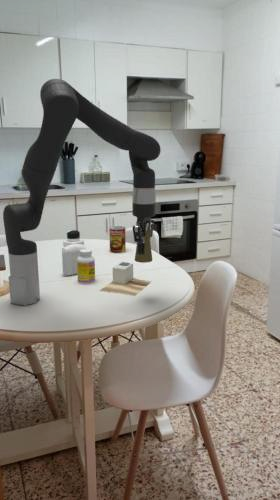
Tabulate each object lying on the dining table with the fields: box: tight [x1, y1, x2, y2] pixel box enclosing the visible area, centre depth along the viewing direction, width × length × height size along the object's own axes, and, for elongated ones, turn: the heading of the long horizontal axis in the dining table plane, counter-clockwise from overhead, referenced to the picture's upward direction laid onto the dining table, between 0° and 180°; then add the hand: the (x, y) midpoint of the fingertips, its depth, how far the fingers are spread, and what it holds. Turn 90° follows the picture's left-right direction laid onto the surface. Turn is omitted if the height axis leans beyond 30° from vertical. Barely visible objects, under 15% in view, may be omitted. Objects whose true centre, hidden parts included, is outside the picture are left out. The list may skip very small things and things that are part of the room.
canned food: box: [109, 225, 127, 254], centre depth 202 cm, size 8×8×12 cm
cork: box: [134, 228, 153, 264], centre depth 136 cm, size 6×6×11 cm
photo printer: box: [61, 244, 87, 277], centre depth 167 cm, size 10×4×12 cm, turn 123°
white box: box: [112, 261, 134, 284], centre depth 158 cm, size 8×5×6 cm, turn 157°
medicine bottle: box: [62, 229, 85, 249], centre depth 194 cm, size 7×7×12 cm
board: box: [99, 278, 153, 297], centre depth 153 cm, size 17×14×1 cm
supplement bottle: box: [77, 248, 96, 285], centre depth 157 cm, size 7×7×13 cm
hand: (143, 252), depth 137 cm, fingers closed on cork, 4 cm apart
